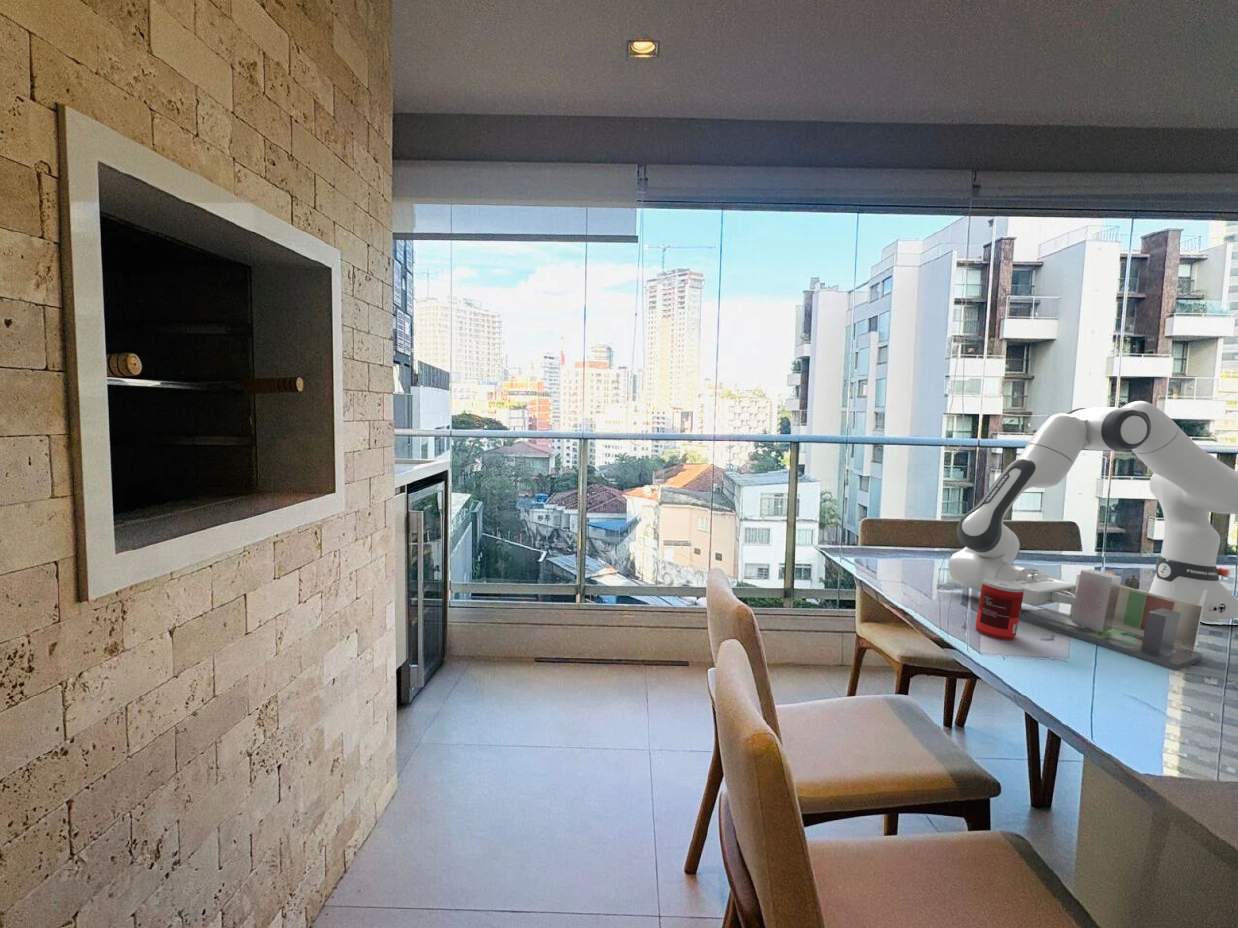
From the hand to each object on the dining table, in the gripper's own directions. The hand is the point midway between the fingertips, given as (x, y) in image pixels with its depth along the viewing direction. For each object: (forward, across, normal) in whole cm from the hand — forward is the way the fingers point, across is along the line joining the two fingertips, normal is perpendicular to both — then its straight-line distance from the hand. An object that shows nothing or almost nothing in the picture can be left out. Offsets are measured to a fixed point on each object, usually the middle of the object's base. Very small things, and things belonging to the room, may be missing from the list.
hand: (1080, 601), depth 150 cm
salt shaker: (+2, +22, +7) cm, 23 cm away
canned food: (-5, -25, +6) cm, 26 cm away
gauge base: (+6, +3, +6) cm, 9 cm away
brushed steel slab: (+3, +2, +4) cm, 6 cm away
